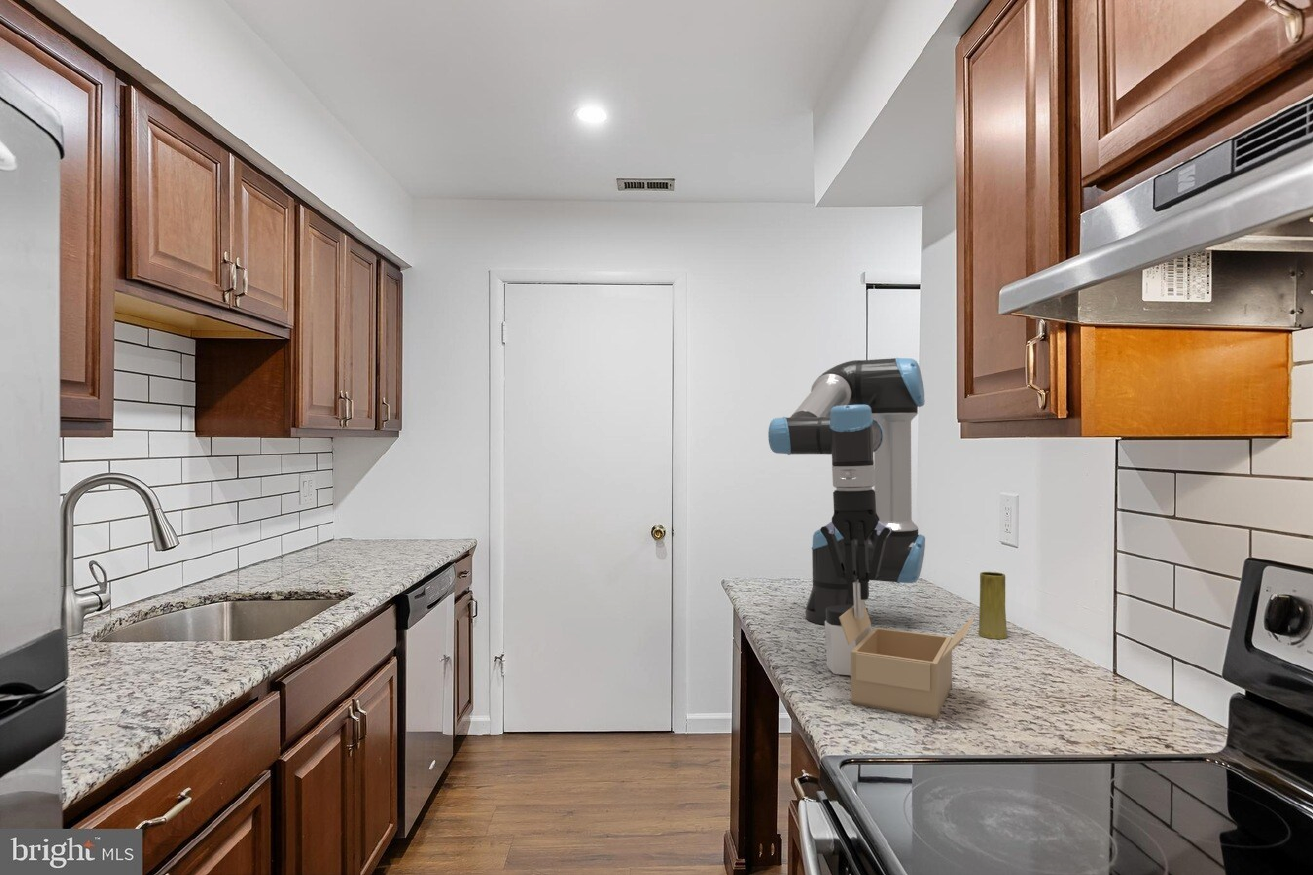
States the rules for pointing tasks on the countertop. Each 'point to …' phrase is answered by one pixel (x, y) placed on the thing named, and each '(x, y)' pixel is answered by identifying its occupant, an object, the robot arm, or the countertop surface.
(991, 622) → the vase
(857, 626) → the flap
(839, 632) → the jar
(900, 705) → the carton
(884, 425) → the robot arm
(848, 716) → the countertop surface
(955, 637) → the flap
